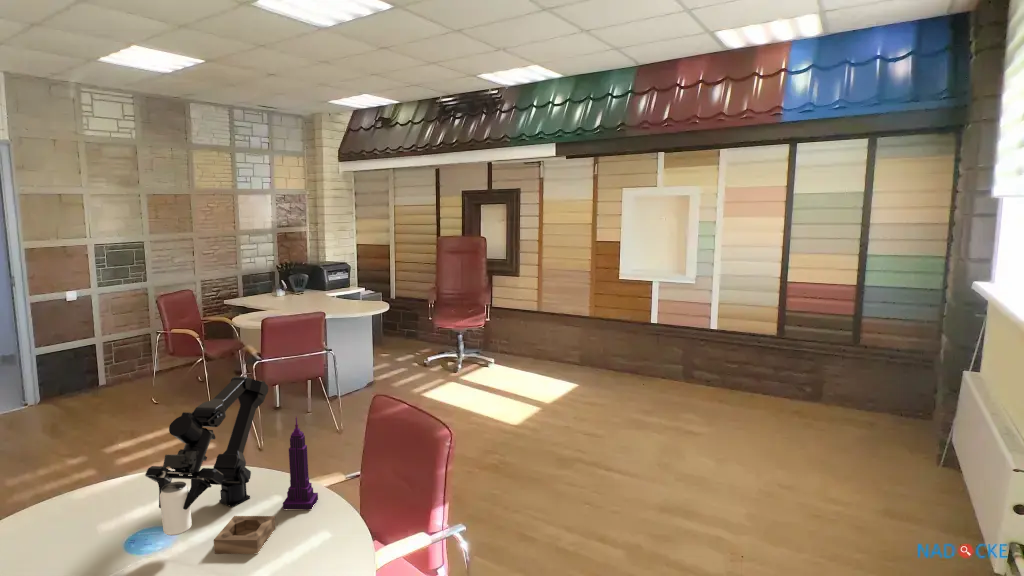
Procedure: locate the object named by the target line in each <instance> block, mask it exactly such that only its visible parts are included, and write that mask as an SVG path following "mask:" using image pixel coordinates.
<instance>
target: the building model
mask: <svg viewBox="0 0 1024 576" xmlns="http://www.w3.org/2000/svg"><path fill="white" fill-rule="evenodd" d="M294 427H295V428H294V429H293V432H292V433H291V434H290V438H289V446H290V447H289V448H288V459H289V460H288V461H289V476H290V477H289V483H290V484H289V487H288V489H287V492H286V494H287V495H286V498H285V499H284V501H283V502H282V510H283V509H312V507H313V505H314V504H315V503H317V502H318V501H319V493H318V492H314V487H313V486H312V484H313V483H312V482H310V477H309V460H308V459H309V457H308V445H307V444H306V438H305V436H306V435H304V432H303V431H302V430H301V428H299V423H298V418H297V417H295V425H294ZM317 500H318V501H317ZM315 505H316V504H315ZM315 505H314V506H315ZM313 508H314V507H313ZM312 510H313V509H312Z"/></svg>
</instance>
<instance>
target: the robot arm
mask: <svg viewBox="0 0 1024 576" xmlns="http://www.w3.org/2000/svg"><path fill="white" fill-rule="evenodd" d="M268 392H269V386H268V384H267V383H266V382H265V380H258V379H257V380H256V379H252V378H251V377H249V376H234V377H232V378H231V379H230V382H229V383H228V384H227V385H226V386H225V387H224V388H223V389H221V391H219V392H218V394H216V395H215V396H214V398H212V399H210V400H208V401H205V402H202V403H201V404H199V405H198V406H196V407H195V409H194V410H192V411H191V412H189V411H188V412H185V411H183V412H182V413H181V416H178V417H176V418H175V419H173V421H171V422H170V424H169V426H168V432H169V433H170V435H171V436H173V437H174V438H176V439H177V440H178V441H180V442H181V443H183V444H184V447H183V449H179V450H178V451H177V454H175V453H173V454H165V455H164V458H163V459H164V460H163V465H162V466H161V465H160V466H159V465H151V466H150V467H148V468H147V470H146V471H145V474H144V476H145V477H146V478H147V479H150V480H152V481H153V482H155V483H156V482H157V485H158V490H159V491H158V493H159V494H158V508H159V509H161V503H160V494H161V489H162V487H163V486H165V485H167V484H169V483H172V480H173V479H176V480H179V479H181V480H182V479H183V480H190V488H189V489H188V490H189V493H188V496H187V498H186V501H185V504H184V507H183V509H185V510H187V509H188V507H189V506H190V507H191V505H192V504H193V503H194V502H195V501H196V500H197V499H198V498H199V497H200V496H201V495H202V494H203V493H204V492H205V491H206V490H207V489H209V488H212V486H213V485H217V486H219V485H220V486H221V487H220V488H221V489H220V499H219V500H218V502H219V503H221V504H223V505H225V504H226V505H225V506H228V505H230V506H229V507H231V506H234V505H236V504H237V505H239V504H241V503H243V502H245V501H247V500H249V499H250V498H251V496H250V495H248V494H247V484H249V482H250V480H251V476H252V475H251V474H252V471H251V470H249V469H248V468H247V467H246V464H247V462H246V459H245V455H244V452H245V448H246V445H247V441H248V438H249V434H250V431H251V427H252V423H253V421H254V418H255V413H256V410H257V409H258V408H259V407H260V406H261V405H262V404H263V403H264V402H265V399H266V397H267V394H268ZM236 400H238V402H239V408H238V412H237V414H236V418H235V420H234V421H235V422H234V425H233V427H232V431H231V434H230V438H229V441H228V444H227V448H226V450H225V451H223V453H218V454H217V456H216V460H215V462H214V465H213V468H212V467H202V465H203V462H206V461H207V459H208V456H206V454H207V451H208V449H209V446H210V443H211V440H216V435H215V433H214V430H213V429H208V428H218V427H220V426H221V425H222V423H223V421H224V420H225V419H226V417H227V414H226V413H227V411H228V409H230V407H231V406H232V405H233V404H234V403H235V402H236ZM168 467H169V468H170V469H171V470H170V469H169V468H168ZM201 467H202V468H201ZM238 503H239V504H238ZM237 505H236V506H237ZM234 507H235V506H234Z"/></svg>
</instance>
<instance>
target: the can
mask: <svg viewBox="0 0 1024 576" xmlns="http://www.w3.org/2000/svg"><path fill="white" fill-rule="evenodd" d="M171 482H172V481H171ZM189 490H190V489H189V488H188V486H187V483H186V482H184V481H179V480H178V481H173V482H172V483H169V484H167V485H165V486H163V487H162V489H161V494H160V503H161V508H160V511H161V521H162V523H161V524H162V530H163V534H165V535H167V536H172V537H173V536H178V535H181V534H184V533H186V532H187V531H189V530H190V529H191V527H192V523H193V522H192V514H191V512H192V511H191V505H190V506H189V507H188V509H187V510H185V509H183V507H184V504H185V501H186V498H187V496H188V493H189Z"/></svg>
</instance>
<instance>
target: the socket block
mask: <svg viewBox="0 0 1024 576" xmlns="http://www.w3.org/2000/svg"><path fill="white" fill-rule="evenodd" d="M274 530H275V531H276V516H275V515H234V516H233V517H232V518H231V519H230V520H229V521H228V523H227V524H226V525H225V526H224V527H223V528H222V529H221V531H220V532H219V533H218V534H217V535H216V536H215V537H214V538H213V550H214V552H213V553H214V554H215V555H219V554H220V555H225V554H226V555H255V554H254V553H258V552H259V551H261V550H262V549H263V547H264V546H265V545H264V543H265V542H266V541H267V542H268V540H269V539H270V538H269V537H271V536H272V535H271V534H273V533H274V532H275V531H274ZM273 531H274V532H273ZM272 532H273V533H272ZM270 535H271V536H270ZM268 538H269V539H268ZM267 539H268V540H267ZM267 542H266V543H267ZM266 543H265V544H266ZM263 545H264V546H263ZM262 546H263V547H262ZM261 548H262V549H261ZM260 549H261V550H260ZM259 553H260V552H259ZM259 553H258V554H259Z"/></svg>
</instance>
